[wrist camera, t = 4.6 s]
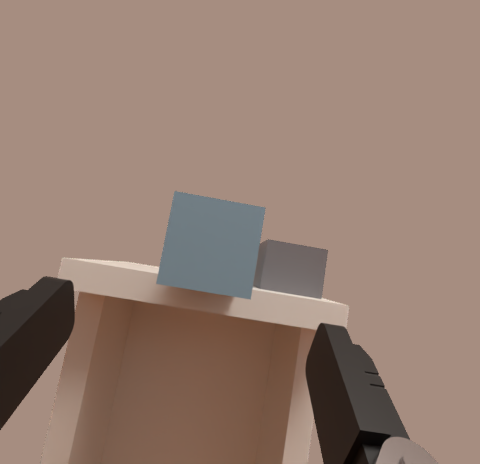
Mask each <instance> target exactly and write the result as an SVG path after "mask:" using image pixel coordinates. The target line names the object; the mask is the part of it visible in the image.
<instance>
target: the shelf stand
mask: <svg viewBox="0 0 480 464" xmlns="http://www.w3.org/2000/svg"><path fill="white" fill-rule="evenodd" d="M158 272H159V267H156V266H150V265H144V264H138V263H132V262H121V261H106V260H91V259H74V258H62V261H61V265H60V270H59V274H58V278H59V279H65V280H71V281H72V282H73V285H74V291H80V292H79V297H78V301H77V305H76V310H75V322H74V327H73V330H72V333H71V335H70V337H69V340H68V345H67V349H66V353H65V357H64V362H63V366H62V370H61V375H60V379H59V384H58V388H57V392H56V396H55V401H54V405H53V409H52V414H51V418H50V422H49V427H48V431H47V435H46V440H45V444H44V448H43V453H42V457H41V462H40V464H308V457H309V450H310V442H311V435H312V427H313V419H314V414H313V409H312V405H311V400H310V395H309V390H308V385H307V380H306V374H305V367H306V359H307V356H308V353H309V350H310V347H311V345H312V342H313V339H314V336H315V333H316V331H317V328H318V326H319V324H320V323H326V324H333V325H339V326H344V327H345V328H347V320H348V311H349V306H348V305H345V304H341V303H338V302H334V301H331V300H327V299H324V298H321V299H317V298H311V297H305V296H299V295H293V294H287V293H281V292H275V291H270V290H264V289H259V288H257V287H255V286H253V288H252V294H251V300H250V299H244V298H238V297H232V296H226V295H220V294H214V293H208V292H202V291H196V290H190V289H184V288H178V287H172V286H166V285H160V284H156V282H157V277H158Z"/></svg>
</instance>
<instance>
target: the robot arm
mask: <svg viewBox="0 0 480 464" xmlns="http://www.w3.org/2000/svg"><path fill="white" fill-rule="evenodd" d="M74 322H75V310H74V285H73V282H72V281H71V280H65V279H59V278H53V277H47V276H46V277H43V278H42V279H40V280H39V281H38V282H37V283H36V284H34V285H33V286H32V287H31V288H30V289H29V290H20V291H18V292H16V293H14V294H11V295H9V296H7V297H5V298H3V299H2V300H0V430H1V428H2V427H3V426H4V424H5V423H6V422H7V420H8V419H9V418H10V416H11V415H12V414H13V412H14V411H15V410H16V408H17V406H19V404H20V403H21V401H22V400H23V399H24V398H25V396H26V395H27V394H28V392H29V391H30V389H31V388H32V387H33V386H34V384H35V383H36V382H37V380H38V378H40V376H41V375H42V374H43V372H44V371H45V370H46V368H47V366H49V364H50V363H51V362H52V360H53V359H54V357H55V356H56V355H57V353H58V352H59V351H60V349H61V348H62V347H63V345H64V344H65V343H66V341H67V340H68V339H69V337H70V335H71V333H72V330H73V327H74ZM305 374H306V380H307V385H308V390H309V395H310V400H311V405H312V409H313V414H314V419H315V424H316V429H317V433H318V438H319V443H320V448H321V453H322V458H323V462H324V464H438V462H437V461H436V460H435V459H434V458H433V457H432V456H431V454H429V453H428V452H427V451H426V450H425V449H424V448H422V447H421V446H420V445H418V444H416V443H415V442H413V441H411V440H410V438H409V436H408V434H407V432H406V430H405V428H404V426H403V424H402V421H401V420H400V417H399V415H398V413H397V411H396V409H395V407H394V405H393V403H392V400H391V398H390V396H389V394H388V392H387V390H386V389H384V384H383V382H382V379H381V378H380V376H378V374H379V373H378V371H377V369H376V367H375V365H374V363H373V361H372V359H371V358H370V356H369V355H368V354H367V353H366V352H365V351H364V350H363V349H362V348H361V346H360V345H355V344H352V341H351V339H350V336H349V334H348V332H347V330H346V328H345V327H344V326H339V325H333V324H326V323H320V324H319V326H318V328H317V331H316V333H315V336H314V339H313V342H312V345H311V347H310V350H309V353H308V356H307V359H306V367H305Z"/></svg>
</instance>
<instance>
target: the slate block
mask: <svg viewBox="0 0 480 464" xmlns="http://www.w3.org/2000/svg"><path fill="white" fill-rule="evenodd" d="M264 214H265V208H264V207H259V206H253V205H248V204H242V203H237V202H231V201H226V200H220V199H215V198H209V197H204V196H199V195H193V194H187V193H182V192H177V191H175V192H174V197H173V202H172V207H171V212H170V217H169V222H168V227H167V232H166V237H165V242H164V247H163V252H162V257H161V262H160V267H159V272H158V277H157V282H156V284H160V285H166V286H172V287H178V288H184V289H190V290H196V291H202V292H208V293H214V294H220V295H226V296H232V297H238V298H244V299H250V300H251V294H252V288H253V282H254V276H255V270H256V263H257V257H258V251H259V245H260V238H261V232H262V226H263V220H264Z"/></svg>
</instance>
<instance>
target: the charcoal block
mask: <svg viewBox="0 0 480 464" xmlns="http://www.w3.org/2000/svg"><path fill="white" fill-rule="evenodd" d="M327 253H328V250H325V249H319V248H314V247H307V246H303V245H297V244H291V243H286V242H280V241H274V240H266V241H264V242H262V243H261V244H260V245H259V251H258V257H257V264H256V270H255V276H254V282H253V286H255V287H257V288H259V289H264V290H270V291H275V292H281V293H287V294H293V295H299V296H305V297H311V298H317V299H321V298H322V291H323V283H324V275H325V268H326V261H327Z"/></svg>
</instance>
